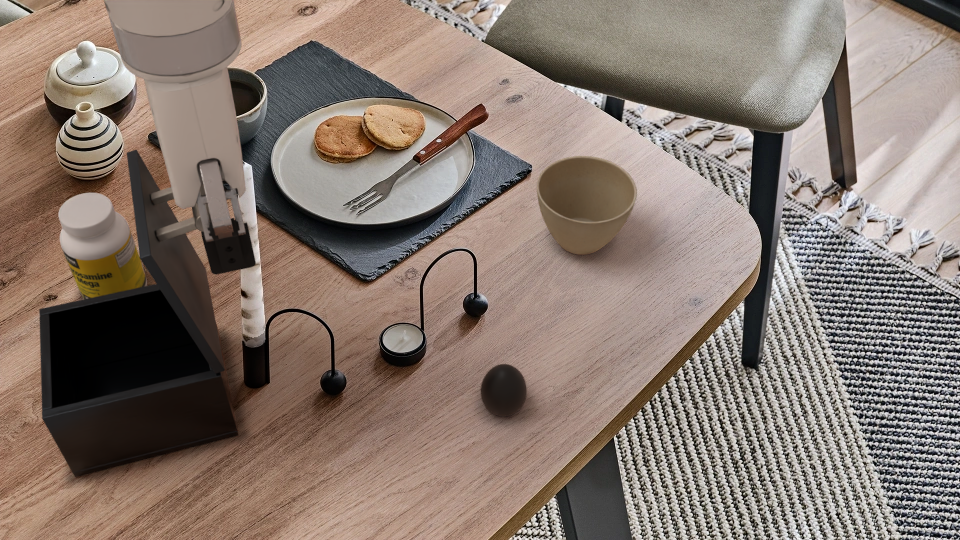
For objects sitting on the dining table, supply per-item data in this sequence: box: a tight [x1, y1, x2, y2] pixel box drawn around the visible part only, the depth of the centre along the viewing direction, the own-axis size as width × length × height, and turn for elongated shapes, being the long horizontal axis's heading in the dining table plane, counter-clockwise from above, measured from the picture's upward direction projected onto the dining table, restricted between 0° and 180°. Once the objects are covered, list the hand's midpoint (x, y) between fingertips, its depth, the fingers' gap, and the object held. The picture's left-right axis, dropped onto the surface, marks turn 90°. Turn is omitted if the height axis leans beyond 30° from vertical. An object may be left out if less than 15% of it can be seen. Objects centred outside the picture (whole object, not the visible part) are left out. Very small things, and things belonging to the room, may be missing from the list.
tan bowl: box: [536, 155, 638, 256], centre depth 97 cm, size 10×10×7 cm
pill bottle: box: [57, 192, 148, 300], centre depth 89 cm, size 6×6×11 cm
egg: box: [480, 363, 528, 417], centre depth 83 cm, size 4×4×5 cm
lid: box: [126, 149, 225, 373], centre depth 74 cm, size 14×12×5 cm
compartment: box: [38, 283, 240, 478], centre depth 81 cm, size 14×12×9 cm
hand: (224, 223), depth 72 cm, fingers open, 9 cm apart
